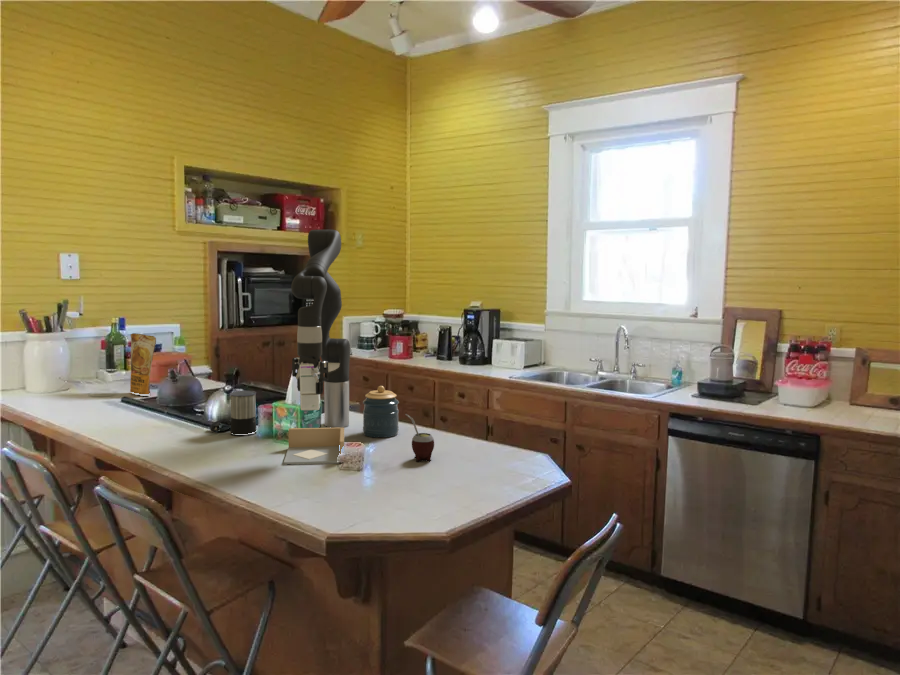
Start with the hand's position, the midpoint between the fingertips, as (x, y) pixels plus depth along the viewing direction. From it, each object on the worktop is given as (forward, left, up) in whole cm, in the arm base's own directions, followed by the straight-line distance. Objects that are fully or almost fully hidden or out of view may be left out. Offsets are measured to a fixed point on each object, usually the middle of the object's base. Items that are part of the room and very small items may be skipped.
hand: (310, 392), depth 201 cm
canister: (-27, +23, -21) cm, 42 cm away
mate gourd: (+7, +34, -21) cm, 41 cm away
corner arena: (-1, +1, -21) cm, 21 cm away
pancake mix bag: (-109, -83, -21) cm, 139 cm away
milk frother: (-34, -29, -21) cm, 50 cm away
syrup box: (0, 0, -5) cm, 5 cm away
